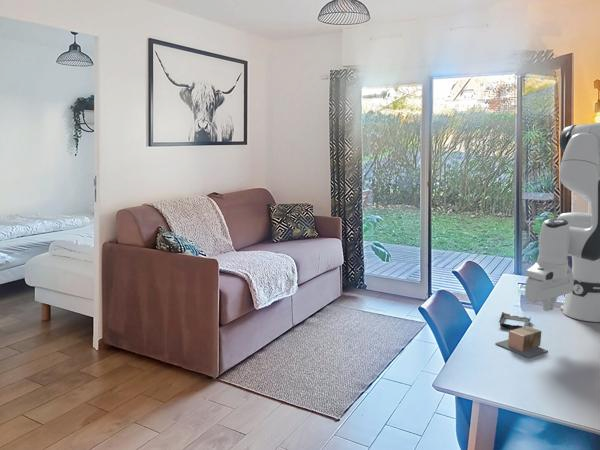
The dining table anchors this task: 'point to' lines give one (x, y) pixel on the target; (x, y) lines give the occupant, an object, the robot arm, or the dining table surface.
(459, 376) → the dining table surface
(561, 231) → the robot arm
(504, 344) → the charcoal mat
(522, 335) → the brown rectangular block
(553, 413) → the dining table surface
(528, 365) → the dining table surface
